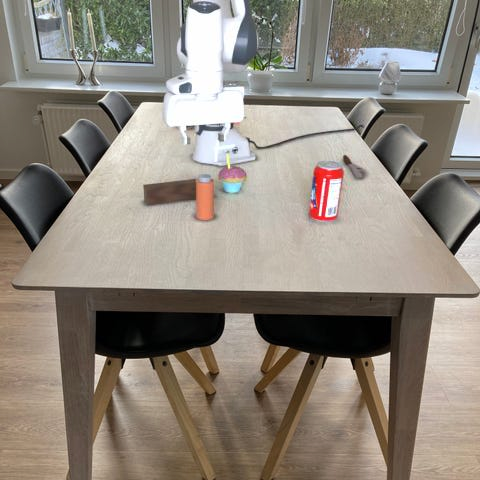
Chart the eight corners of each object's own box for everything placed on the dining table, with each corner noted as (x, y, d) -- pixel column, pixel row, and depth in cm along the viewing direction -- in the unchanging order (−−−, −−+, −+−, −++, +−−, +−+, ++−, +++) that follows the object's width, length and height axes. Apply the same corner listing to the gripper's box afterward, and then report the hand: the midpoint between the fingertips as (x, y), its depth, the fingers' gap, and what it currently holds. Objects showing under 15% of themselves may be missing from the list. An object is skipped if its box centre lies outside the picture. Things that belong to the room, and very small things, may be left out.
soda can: (329, 226, 139) (337, 171, 131) (303, 219, 143) (309, 164, 134) (341, 217, 145) (349, 163, 137) (315, 210, 148) (322, 157, 140)
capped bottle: (209, 211, 145) (210, 172, 138) (216, 218, 141) (216, 177, 135) (193, 214, 143) (192, 173, 137) (199, 220, 139) (199, 179, 133)
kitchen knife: (369, 177, 171) (354, 175, 171) (367, 182, 172) (353, 180, 172) (356, 155, 188) (342, 153, 188) (354, 160, 189) (341, 158, 189)
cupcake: (225, 196, 155) (226, 155, 148) (213, 187, 161) (213, 147, 154) (251, 192, 158) (252, 152, 151) (238, 183, 164) (239, 144, 157)
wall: (209, 193, 156) (209, 177, 154) (213, 196, 154) (213, 180, 151) (144, 201, 149) (143, 184, 146) (147, 205, 147) (146, 188, 144)
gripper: (239, 78, 129) (237, 136, 137) (159, 81, 122) (161, 142, 130) (250, 83, 125) (247, 142, 132) (167, 86, 117) (169, 149, 125)
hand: (204, 142), depth 131 cm, fingers open, 8 cm apart
